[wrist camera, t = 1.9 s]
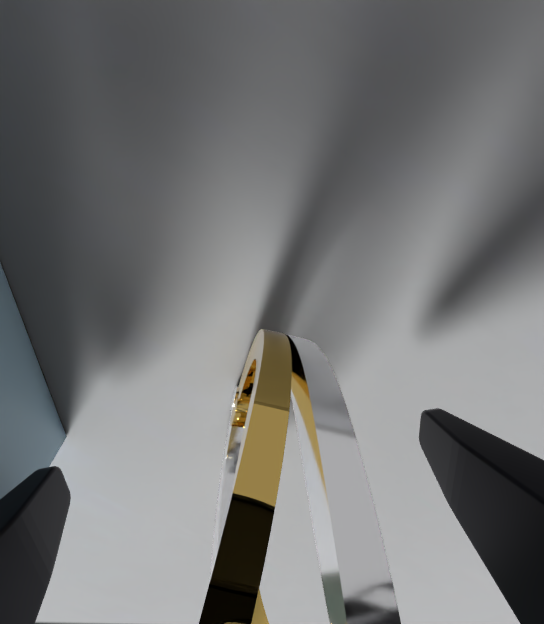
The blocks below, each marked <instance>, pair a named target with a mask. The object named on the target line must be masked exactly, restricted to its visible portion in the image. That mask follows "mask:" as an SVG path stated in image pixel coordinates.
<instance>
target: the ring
mask: <svg viewBox="0 0 544 624" xmlns="http://www.w3.org/2000/svg"><path fill="white" fill-rule="evenodd" d="M290 396H291V398H292V404H293V409H294V415H295V421H296V427H297V434H298V440H299V446H300V453H301V459H302V465H303V471H304V477H305V484H306V490H307V496H308V502H309V508H310V514H311V520H312V526H313V532H314V538H315V544H316V550H317V555H318V561H319V567H320V573H321V578H322V584H323V590H324V595H325V601H326V606H327V612H328V617H329V622H330V624H401V622H400V617H399V612H398V607H397V602H396V597H395V592H394V587H393V583H392V578H391V573H390V569H389V564H388V560H387V555H386V551H385V546H384V542H383V538H382V534H381V529H380V525H379V521H378V517H377V513H376V509H375V505H374V501H373V497H372V493H371V490H370V486H369V482H368V478H367V475H366V471H365V467H364V464H363V460H362V457H361V453H360V450H359V446H358V443H357V439H356V436H355V432H354V429H353V426H352V422H351V419H350V416H349V413H348V409H347V406H346V403H345V400H344V397H343V394H342V391H341V389H340V386H339V383H338V381H337V378H336V376H335V373H334V371H333V369H332V367H331V365H330V363H329V361H328V359H327V357H326V356H325V354H324V353H323V351H322V350H321V349H320V348H319V346H318V345H317V344H315V343H314V342H313V341H311V340H309V339H305V338H301V337H297V336H292V335H288V334H284V333H280V332H275V331H270V330H265V329H260V330H259V332H258V333H257V335H256V337H255V339H254V341H253V344H252V346H251V349H250V352H249V354H248V357H247V360H246V363H245V367H244V370H243V373H242V376H241V380H240V383H239V386H236V388H235V390H234V394H233V398H232V402H231V408H230V411H232V412H231V417H230V422H229V427H228V432H227V437H226V443H225V449H224V455H223V461H222V468H221V475H220V482H219V489H218V497H217V506H216V515H215V524H214V534H213V545H212V557H211V569H210V583H209V588H208V592H207V595H206V599H205V603H204V607H203V610H202V614H201V618H200V622H199V624H269V623H268V620H267V617H266V613H265V610H264V606H263V603H262V599H261V595H260V591H259V586H260V581H261V576H262V572H263V567H264V562H265V557H266V552H267V547H268V542H269V536H270V531H271V526H272V520H273V515H274V510H275V504H276V498H277V492H278V487H279V481H280V474H281V468H282V462H283V455H284V448H285V441H286V433H287V425H288V417H289V407H290Z"/></svg>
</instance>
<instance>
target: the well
mask: <svg viewBox="0 0 544 624" xmlns="http://www.w3.org/2000/svg"><path fill="white" fill-rule="evenodd" d="M65 438H66V434H65V432H64V429H63V426H62V424H61V421H60V418H59V416H58V413H57V411H56V408H55V405H54V403H53V400H52V397H51V395H50V392H49V389H48V387H47V384H46V382H45V379H44V376H43V374H42V371H41V368H40V366H39V363H38V360H37V358H36V355H35V353H34V350H33V347H32V345H31V342H30V339H29V337H28V334H27V331H26V329H25V326H24V324H23V321H22V318H21V316H20V313H19V310H18V308H17V305H16V302H15V300H14V297H13V295H12V292H11V289H10V287H9V284H8V281H7V279H6V276H5V273H4V271H3V268H2V266H1V263H0V499H1V498H2V497H4V496H5V495H6V494H7V493H9V492H10V491H11V490H12V489H13V488H15V487H16V486H17V485H18V484H20V483H21V482H22V481H23V480H25V479H26V478H27V477H28V476H30V475H31V474H32V473H33V472H35V471H36V470H38V469H41V468H46V467H49V466H50V464H51V462H52V461H53V459H54V457H55V456H56V454H57V452H58V450H59V449H60V447H61V445H62V444H63V442H64V440H65Z"/></svg>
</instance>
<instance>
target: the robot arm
mask: <svg viewBox="0 0 544 624" xmlns="http://www.w3.org/2000/svg"><path fill="white" fill-rule="evenodd" d="M419 441H420V445H421V448H422V450H423V452H424V454H425V456H426V458H427V460H428V462H429V464H430V466H431V469H432V471H433V473H434V475H435V477H436V479H437V481H438V483H439V485H440V487H441V489H442V492H443V494H444V496H445V498H446V500H447V502H448V504H449V506H450V507H451V509H452V511H453V513H454V514H455V516H456V518H457V519H458V521H459V523H460V524H461V526H462V528H463V529H464V531H465V533H466V534H467V536H468V538H469V539H470V541H471V543H472V544H473V546H474V548H475V549H476V551H477V553H478V554H479V556H480V558H481V559H482V561H483V562H484V564H485V566H486V567H487V569H488V571H489V572H490V574H491V576H492V577H493V579H494V581H495V582H496V584H497V586H498V587H499V589H500V591H501V592H502V594H503V596H504V597H505V599H506V601H507V602H508V604H509V606H510V607H511V609H512V610H513V612H514V614H515V615H516V617H517V619H518V620H519V622H520V624H544V460H542V459H540V458H538V457H536V456H534V455H532V454H530V453H528V452H526V451H524V450H522V449H520V448H518V447H516V446H514V445H512V444H510V443H508V442H506V441H504V440H502V439H500V438H498V437H496V436H494V435H492V434H490V433H488V432H486V431H484V430H482V429H480V428H478V427H476V426H474V425H472V424H470V423H468V422H466V421H464V420H462V419H460V418H458V417H456V416H454V415H452V414H450V413H448V412H446V411H444V410H442V409H438V408H436V409H430V410H425V411H423V412H422V414H421V421H420V431H419ZM70 499H71V498H70V491H69V488H68V486H67V483H66V481H65V478H64V476H63V473H62V471H61V469H60V468H59V467H56V466H53V467H46V468H41V469H38V470H36V471H35V472H33V473H32V474H31V475H30V476H28V477H27V478H26V479H25V480H23V481H22V482H21V483H20V484H18V485H17V486H16V487H15V488H13V489H12V490H11V491H10V492H9V493H7V494H6V495H5V496H4V497H2V498H1V499H0V624H35V621H36V618H37V615H38V613H39V610H40V607H41V604H42V601H43V599H44V596H45V593H46V590H47V587H48V584H49V581H50V578H51V575H52V572H53V568H54V564H55V561H56V557H57V553H58V549H59V545H60V541H61V537H62V533H63V529H64V525H65V521H66V517H67V513H68V509H69V505H70Z"/></svg>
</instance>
